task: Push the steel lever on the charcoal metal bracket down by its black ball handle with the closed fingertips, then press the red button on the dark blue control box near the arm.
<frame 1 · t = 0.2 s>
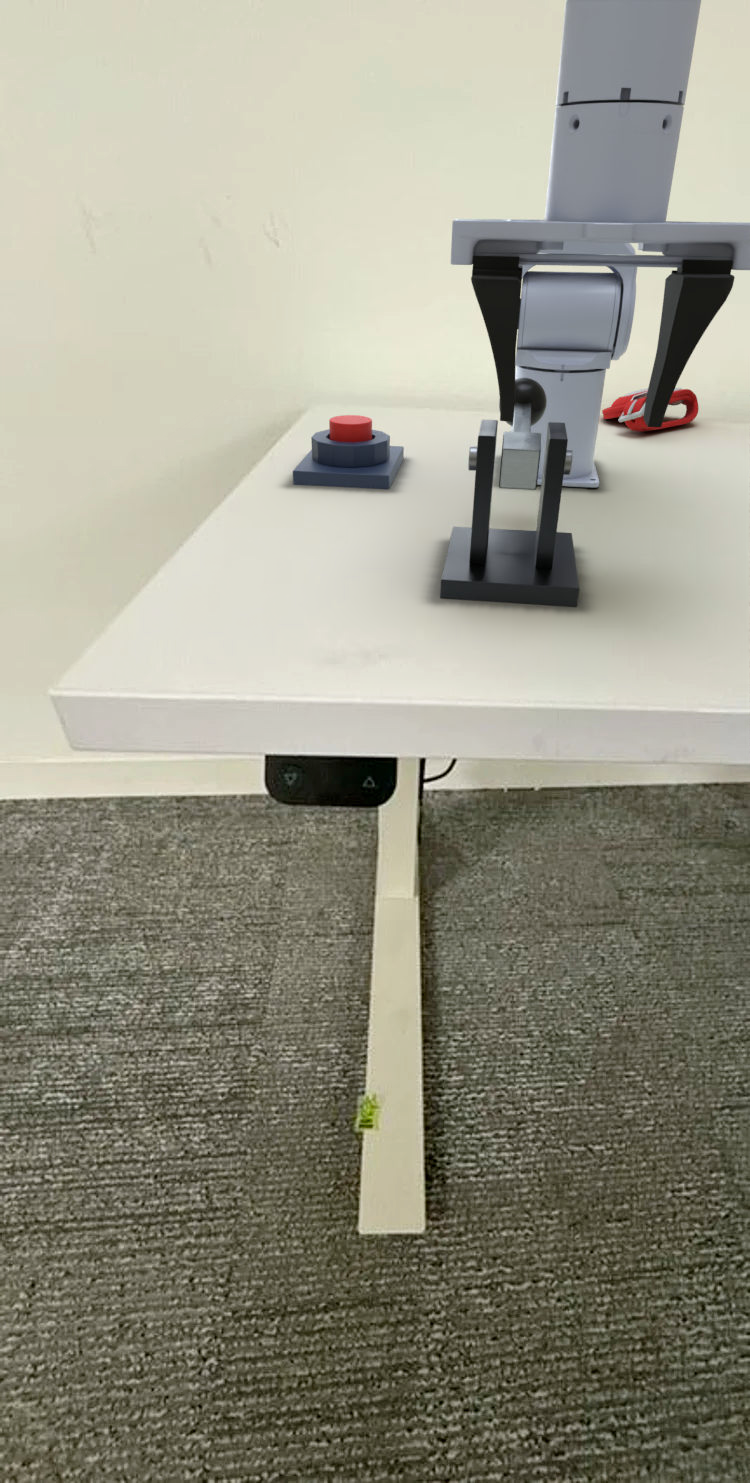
hand: (578, 420, 47), 10 cm above the table, tool pointing down, fingers open, 7 cm apart
button: (350, 430, 73), point 3 cm above the table, slide at 0.1 cm
lever: (521, 429, 55), point 8 cm above the table, hinge at 8.0°
bracket: (509, 572, 55), on the table
red strap with buckle: (638, 427, 92), on the table
control box: (351, 472, 75), on the table
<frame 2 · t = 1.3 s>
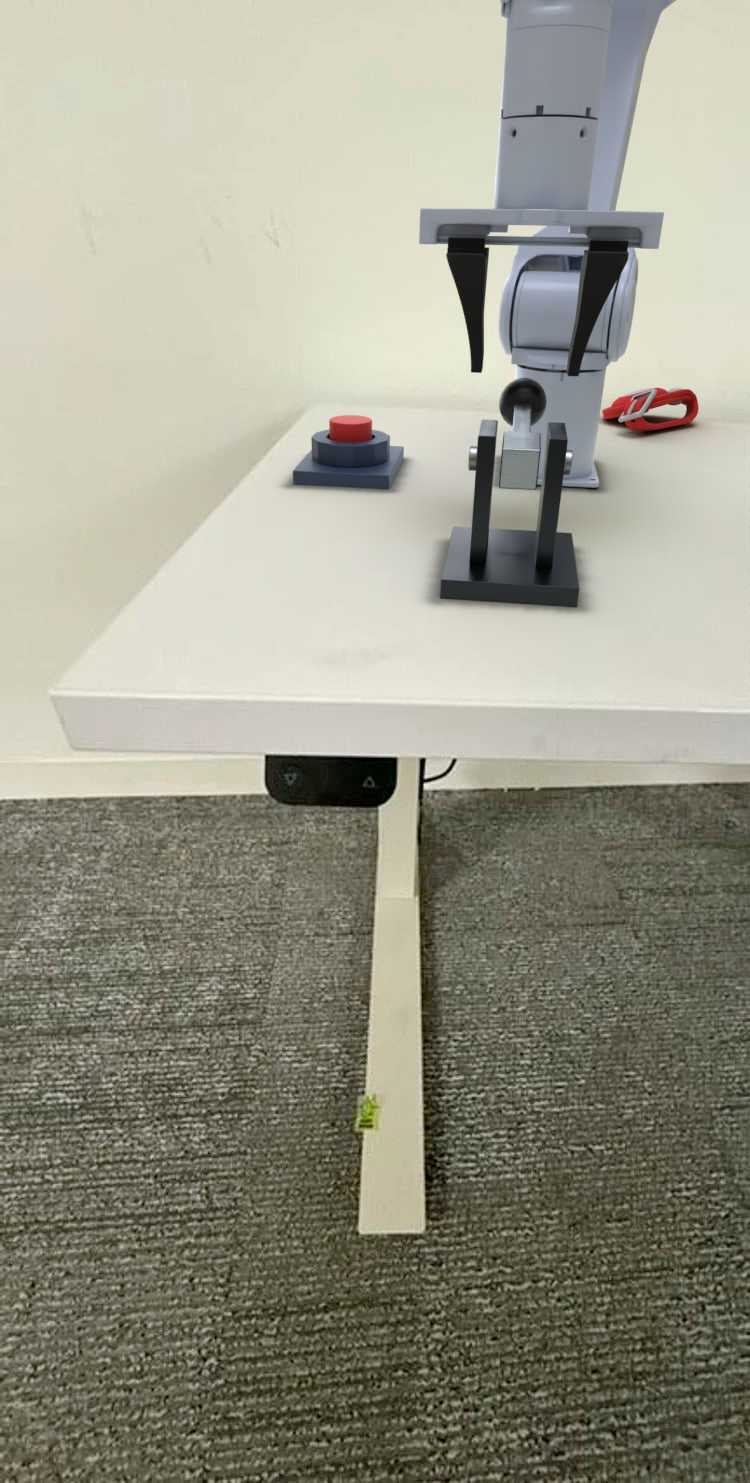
hand: (524, 372, 57), 10 cm above the table, tool pointing down, fingers open, 6 cm apart
nothing on the table moved.
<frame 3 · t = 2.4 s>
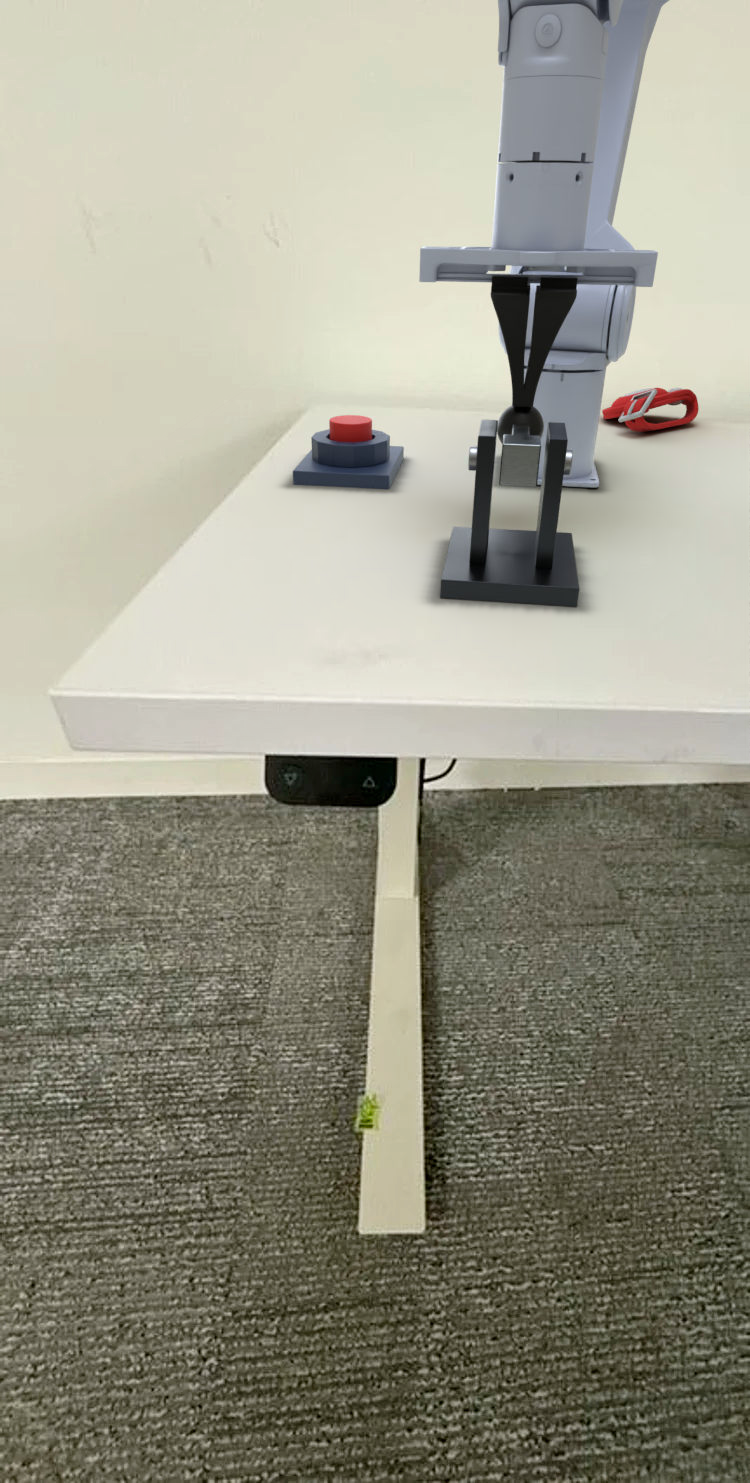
hand: (522, 404, 59), 8 cm above the table, tool pointing down, fingers closed, pressing on lever
lever: (520, 442, 56), point 7 cm above the table, hinge at -1.4°, touching gripper
everything else where it was.
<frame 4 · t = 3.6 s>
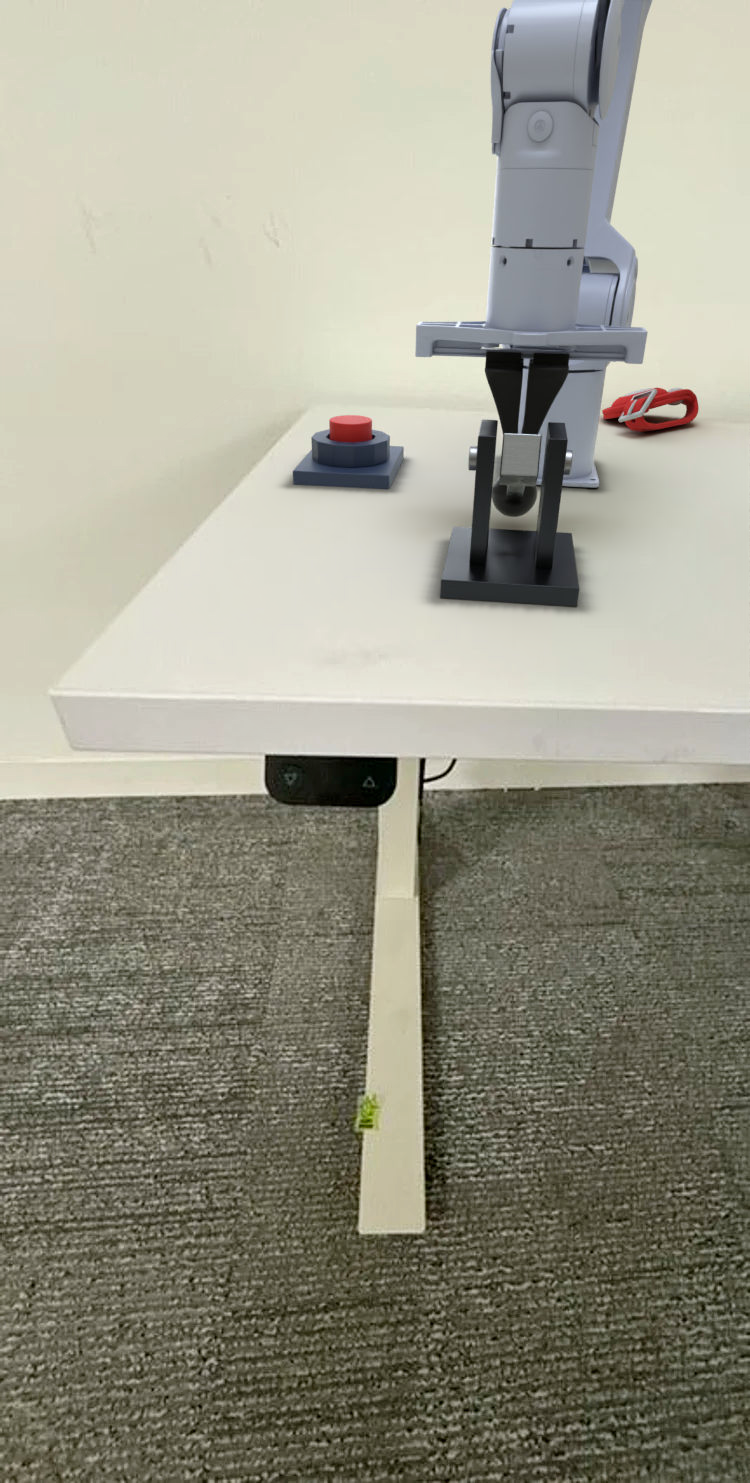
hand: (516, 471, 60), 4 cm above the table, tool pointing down, fingers closed, pressing on lever
lever: (516, 478, 56), point 5 cm above the table, hinge at -26.7°, touching gripper
everything else where it was.
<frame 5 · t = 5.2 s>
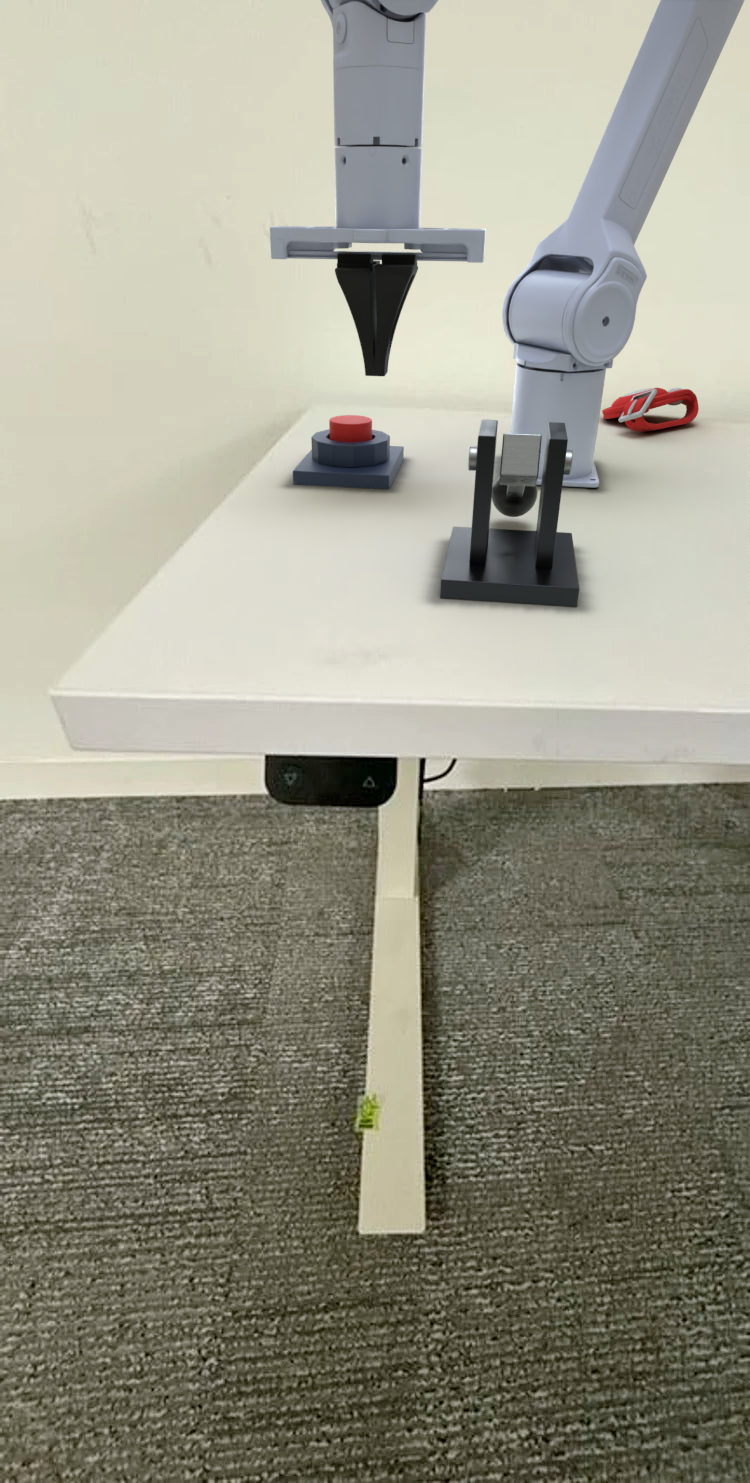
hand: (376, 374, 63), 9 cm above the table, tool pointing down, fingers closed
lever: (516, 478, 56), point 5 cm above the table, hinge at -26.7°
everything else where it was.
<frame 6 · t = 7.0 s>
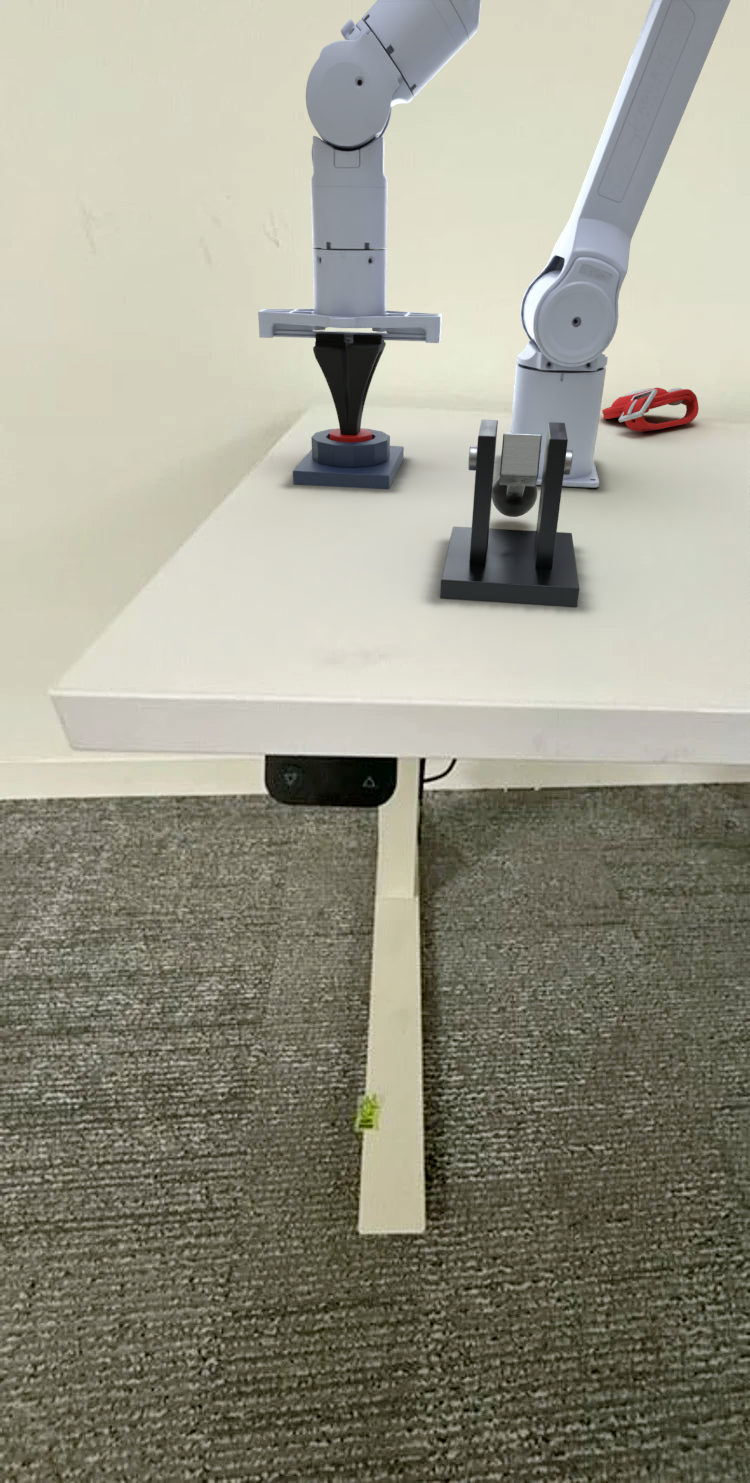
hand: (350, 432, 73), 3 cm above the table, tool pointing down, fingers closed, pressing on button
button: (350, 443, 74), point 2 cm above the table, slide at -0.9 cm, touching gripper
everything else where it was.
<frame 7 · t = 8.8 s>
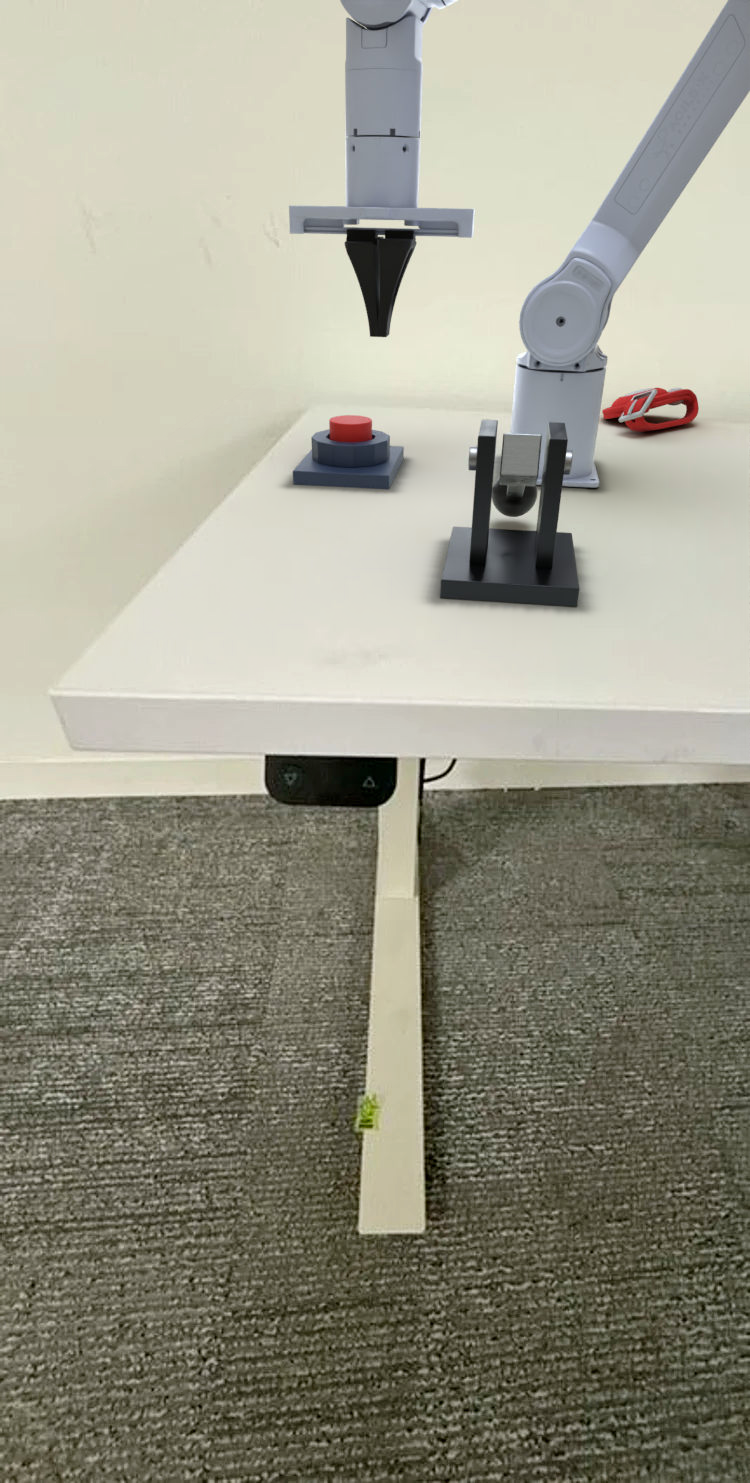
hand: (379, 335, 73), 10 cm above the table, tool pointing down, fingers closed
button: (350, 430, 73), point 3 cm above the table, slide at 0.1 cm
everything else where it was.
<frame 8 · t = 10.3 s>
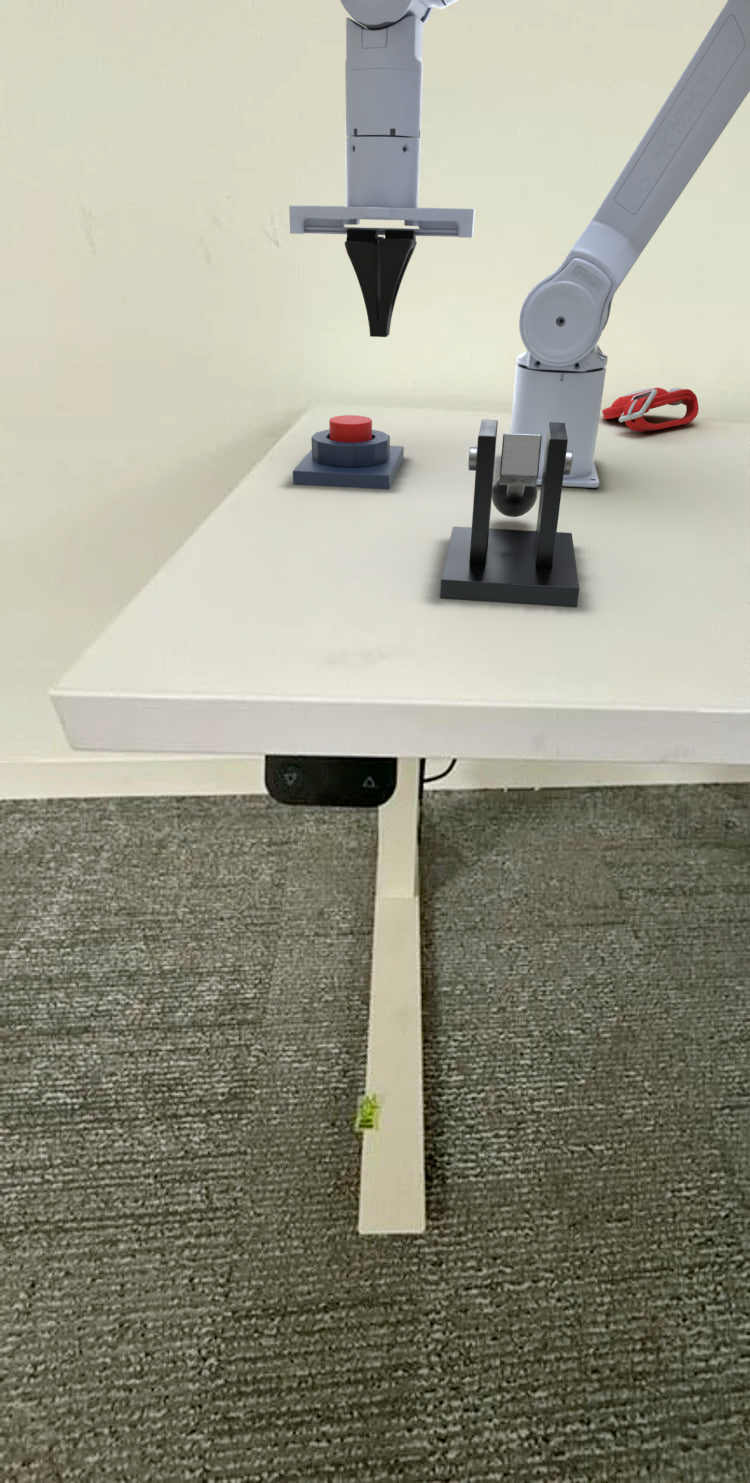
hand: (379, 335, 73), 10 cm above the table, tool pointing down, fingers closed
nothing on the table moved.
at the end: lever at -27° (first picture: +8°); button pushed in 1.2 cm at the most during the clip, back to where it started at the end; button slide at 0.1 cm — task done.
